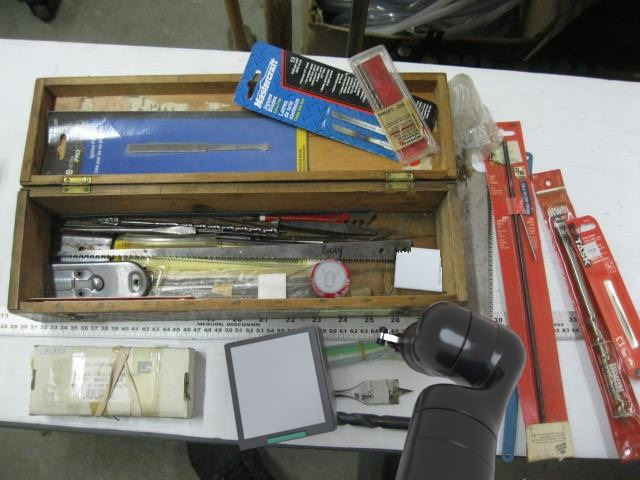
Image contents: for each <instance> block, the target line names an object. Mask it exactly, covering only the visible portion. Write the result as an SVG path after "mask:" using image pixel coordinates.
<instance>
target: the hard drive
mask: <svg viewBox="0 0 640 480" xmlns="http://www.w3.org/2000/svg"><path fill="white" fill-rule="evenodd" d="M410 247H411V252H410V251H409V253H408V252H407V251H406V252H404V251H402V253H401V252H400V251H399V253H398V252H397V253H396V252H395V255H396V254H397V255H396V260H395V259H394V272H393V288H394V289H404V290H414V291H423V292H424V291H425V292H436V293H443V292H442V267H441V257H440V250H441V249H433V248H424V247H412V246H410Z"/></svg>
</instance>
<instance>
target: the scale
mask: <svg viewBox="0 0 640 480" xmlns="http://www.w3.org/2000/svg"><path fill="white" fill-rule="evenodd" d="M311 326H312V327H308V326H307V327H308V328H303V327H302V328H303V329H298V328H297V329H298V330H294V329H292V330H293V331H289V330H287V331H288V332H284V331H283V332H284V333H279V332H278V333H279V334H274V333H273V334H274V335H270V334H268V335H269V336H265V335H263V336H264V337H260V336H259V337H260V338H255V337H254V338H255V339H250V338H249V339H250V340H245V339H244V340H245V341H241V340H239V341H240V342H236V341H235V342H236V343H231V342H230V343H231V344H226V343H225V344H223V349H224V355H225V361H226V368H227V374H228V381H229V382H228V383H229V388H230V395H231V402H232V407H233V415H234V422H235V428H236V434H237V440H238V447H239V451H241V452H242V451H246V450H252V449H255V448H261V447H265V446H270V445H275V444H279V443H283V442H284V443H285V442H288V441H294V440H299V439H303V438H307V437H312V436H317V435H322V434H328V433H331V432H335V431H336V429H335V423H334V418H333V413H332V408H331V403H330V398H329V393H328V388H327V383H326V378H325V373H324V368H323V362H322V357H321V352H320V347H319V342H318V337H317V332H316V327H315V326H313V325H311Z"/></svg>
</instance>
